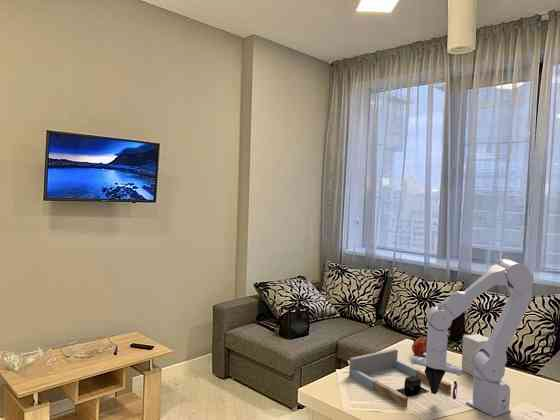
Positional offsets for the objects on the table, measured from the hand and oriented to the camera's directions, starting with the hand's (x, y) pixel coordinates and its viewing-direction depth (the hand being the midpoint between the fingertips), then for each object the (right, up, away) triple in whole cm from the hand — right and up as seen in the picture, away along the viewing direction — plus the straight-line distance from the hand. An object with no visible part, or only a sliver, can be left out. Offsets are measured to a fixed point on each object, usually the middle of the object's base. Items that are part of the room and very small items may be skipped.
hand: (434, 392), depth 133 cm
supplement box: (+23, -3, +24) cm, 33 cm away
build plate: (-4, -3, +7) cm, 9 cm away
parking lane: (-7, -2, +12) cm, 14 cm away
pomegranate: (+8, -2, +38) cm, 39 cm away
